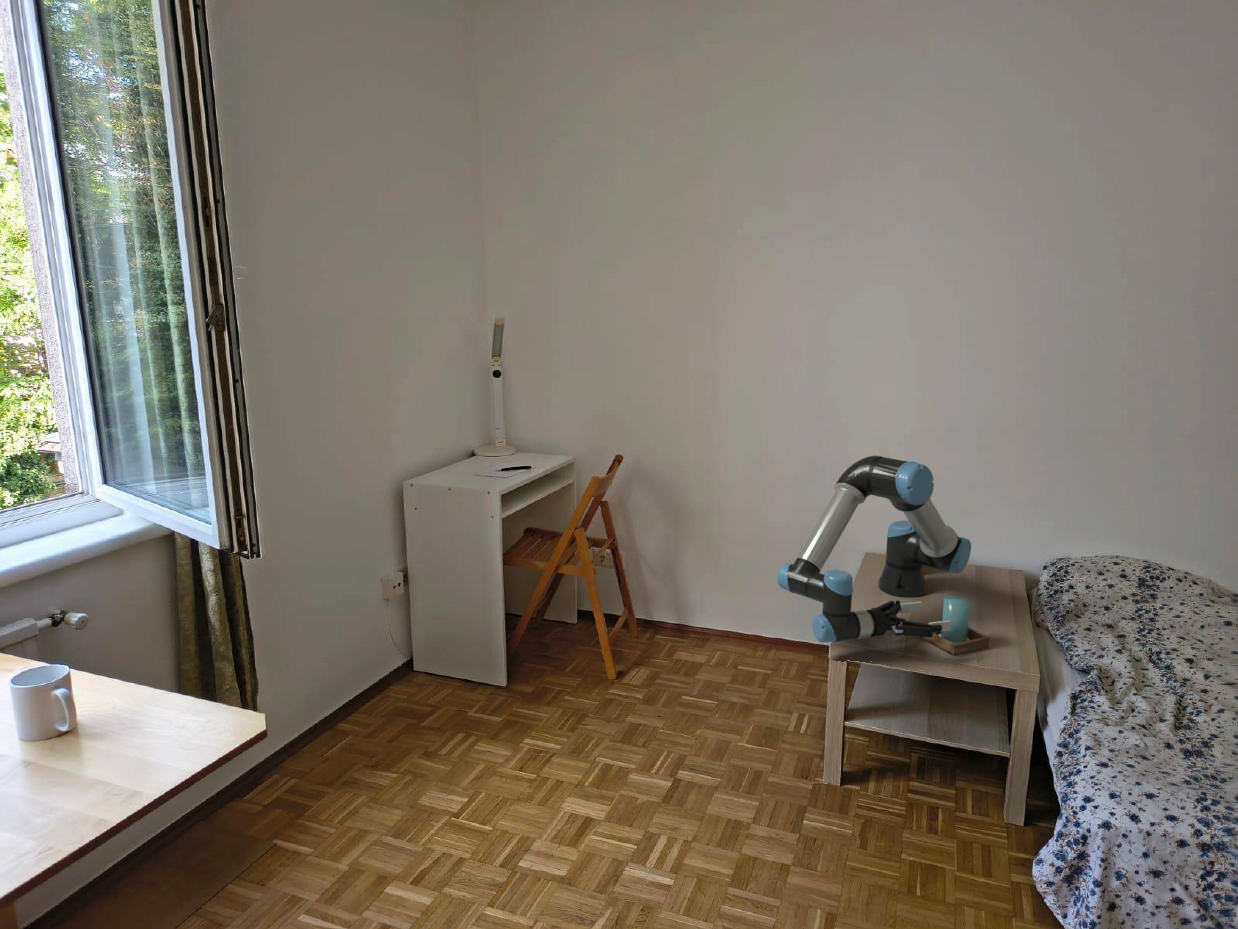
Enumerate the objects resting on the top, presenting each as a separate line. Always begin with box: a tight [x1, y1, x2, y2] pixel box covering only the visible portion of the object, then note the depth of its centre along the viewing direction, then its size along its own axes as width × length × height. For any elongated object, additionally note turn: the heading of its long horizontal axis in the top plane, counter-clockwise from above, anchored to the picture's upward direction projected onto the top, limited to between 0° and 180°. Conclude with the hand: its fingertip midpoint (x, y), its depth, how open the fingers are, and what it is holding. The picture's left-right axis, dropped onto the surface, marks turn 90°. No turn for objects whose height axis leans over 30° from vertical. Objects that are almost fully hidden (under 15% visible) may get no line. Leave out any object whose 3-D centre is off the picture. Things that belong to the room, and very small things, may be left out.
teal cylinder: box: [941, 595, 972, 644], centre depth 242 cm, size 7×7×12 cm
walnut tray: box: [919, 626, 990, 657], centre depth 244 cm, size 13×13×3 cm
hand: (935, 615), depth 240 cm, fingers open, 13 cm apart
